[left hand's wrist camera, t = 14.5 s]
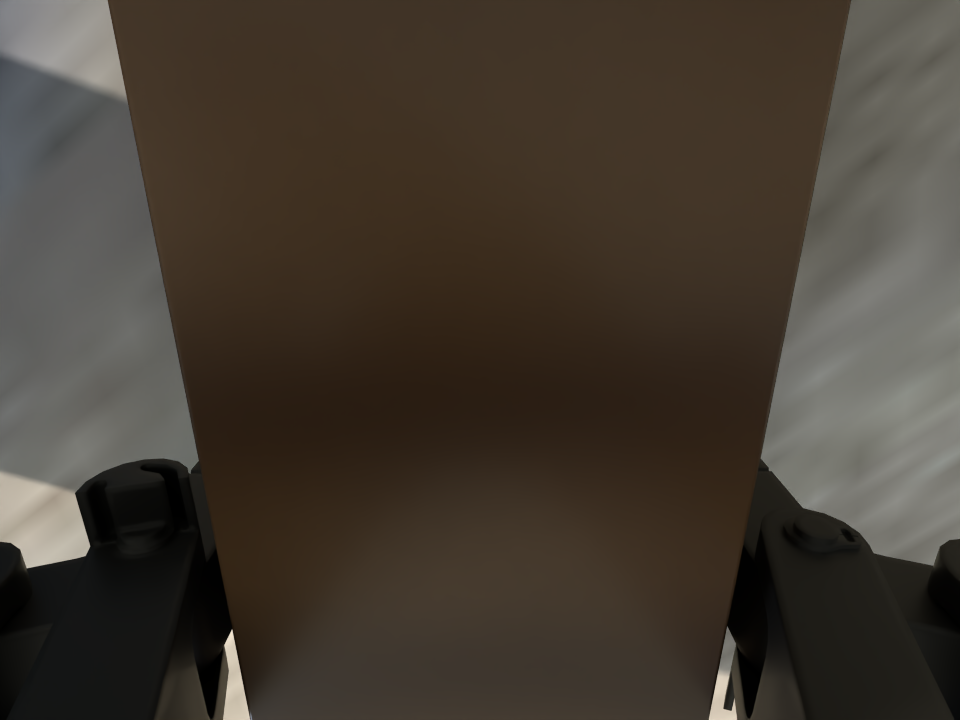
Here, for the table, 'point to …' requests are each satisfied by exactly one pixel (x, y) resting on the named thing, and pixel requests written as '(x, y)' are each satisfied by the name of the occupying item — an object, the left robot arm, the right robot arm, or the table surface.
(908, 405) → the table surface
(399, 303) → the beam
